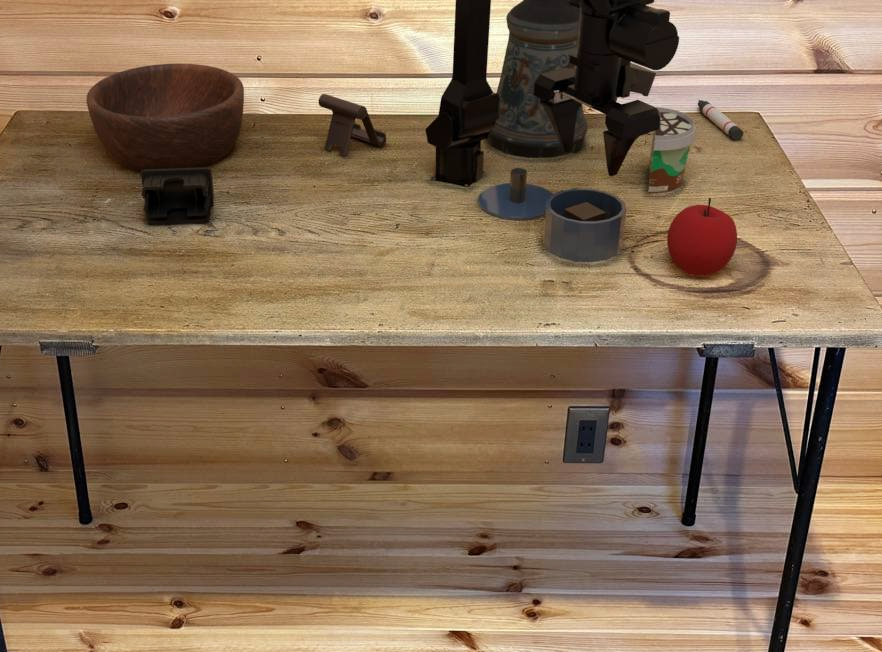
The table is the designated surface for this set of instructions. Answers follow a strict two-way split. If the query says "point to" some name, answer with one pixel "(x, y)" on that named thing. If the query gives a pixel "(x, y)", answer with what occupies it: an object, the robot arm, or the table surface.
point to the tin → (584, 226)
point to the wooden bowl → (167, 115)
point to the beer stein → (527, 56)
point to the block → (584, 213)
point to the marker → (720, 120)
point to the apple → (701, 240)
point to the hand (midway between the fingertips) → (589, 163)
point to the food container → (670, 150)
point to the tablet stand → (349, 124)
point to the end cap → (177, 195)
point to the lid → (515, 198)
